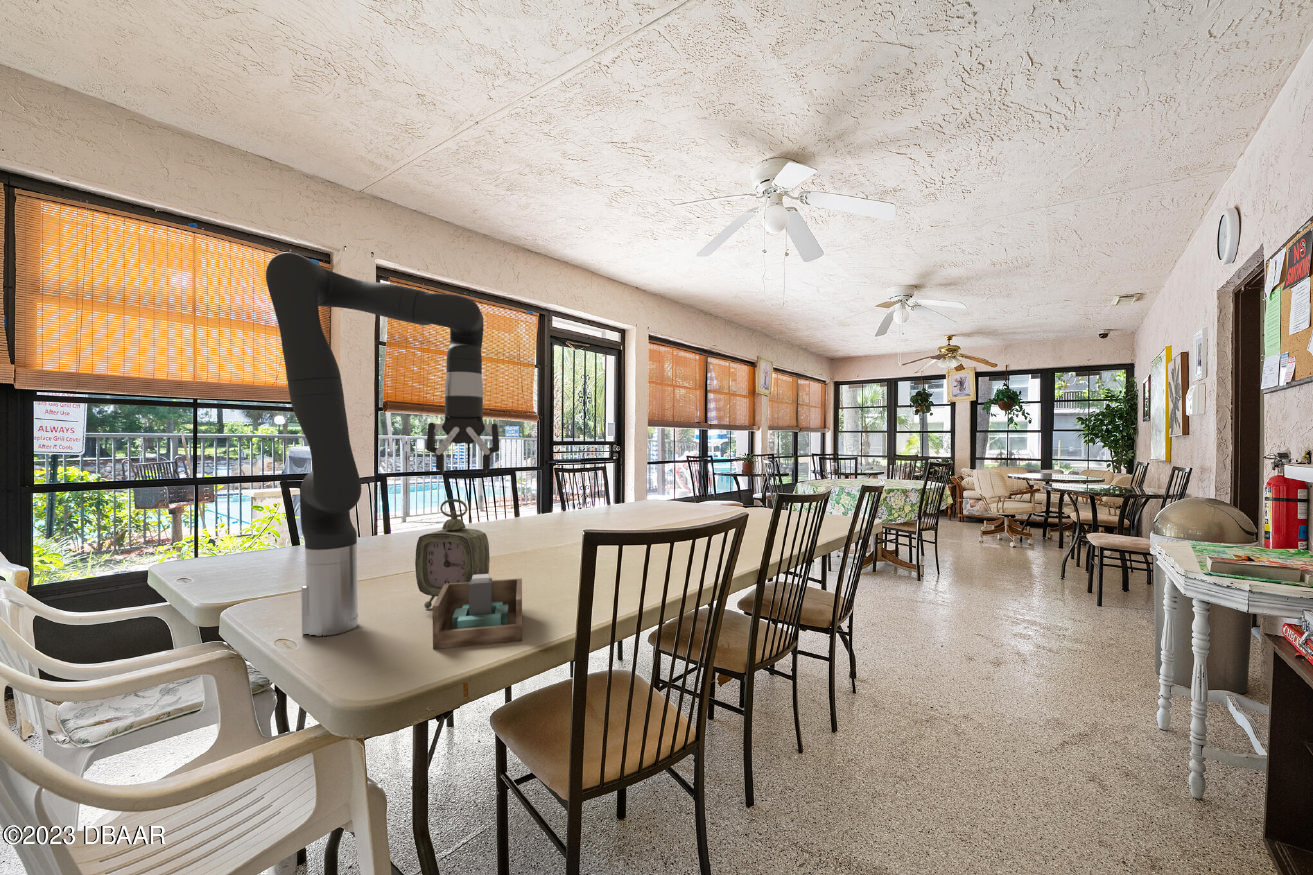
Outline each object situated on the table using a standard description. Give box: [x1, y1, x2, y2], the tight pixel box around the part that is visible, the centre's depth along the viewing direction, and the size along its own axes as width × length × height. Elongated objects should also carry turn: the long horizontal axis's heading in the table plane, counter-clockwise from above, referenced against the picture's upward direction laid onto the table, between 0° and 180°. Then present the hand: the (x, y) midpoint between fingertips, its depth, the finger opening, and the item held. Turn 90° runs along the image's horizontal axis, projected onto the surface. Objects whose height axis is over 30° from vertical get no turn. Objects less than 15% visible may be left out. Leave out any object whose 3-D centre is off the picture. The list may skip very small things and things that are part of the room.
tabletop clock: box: [414, 498, 491, 609], centre depth 127 cm, size 14×9×25 cm, turn 76°
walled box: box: [432, 577, 523, 650], centre depth 111 cm, size 16×16×8 cm
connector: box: [469, 573, 493, 616], centre depth 111 cm, size 4×4×10 cm
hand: (463, 472), depth 115 cm, fingers open, 8 cm apart
